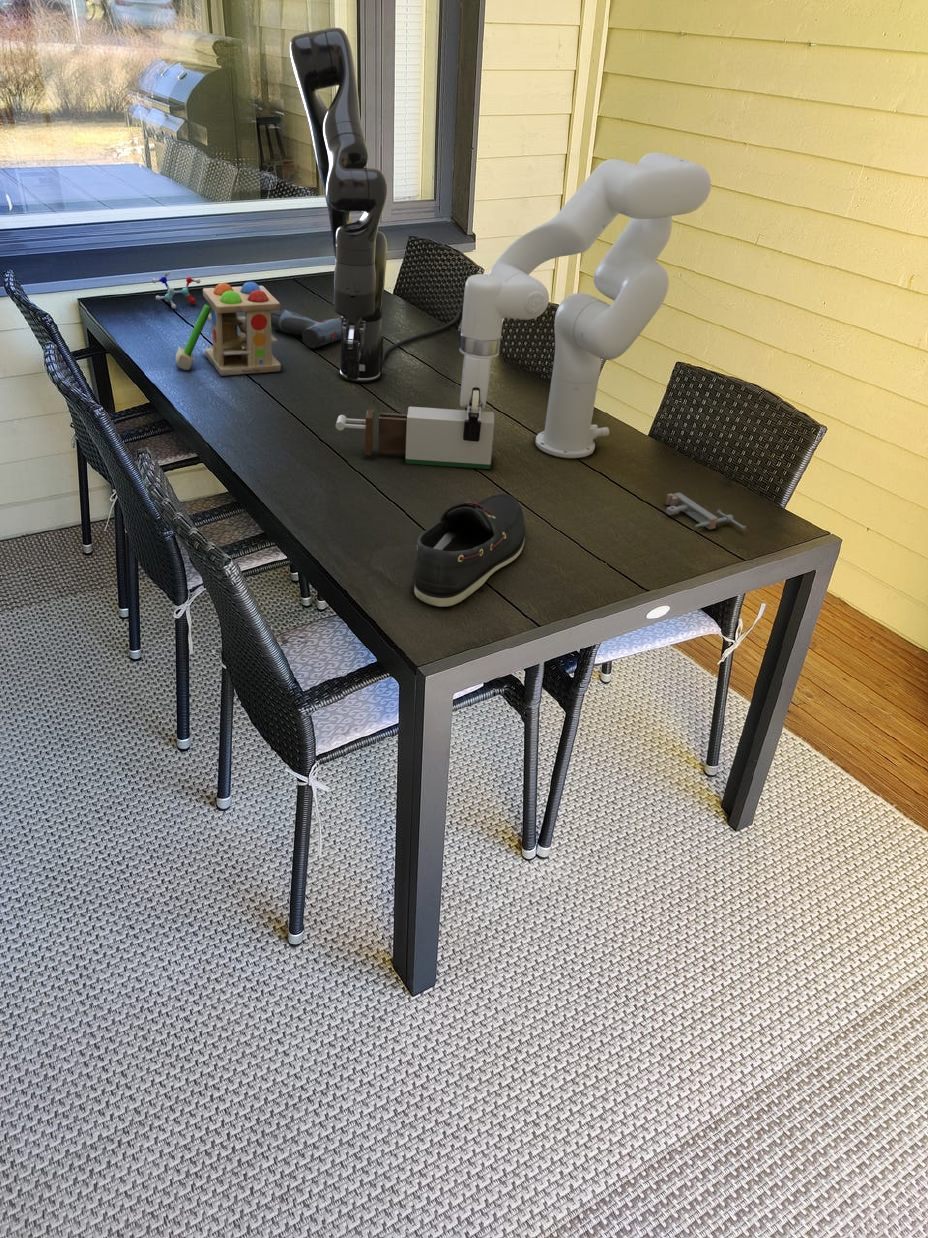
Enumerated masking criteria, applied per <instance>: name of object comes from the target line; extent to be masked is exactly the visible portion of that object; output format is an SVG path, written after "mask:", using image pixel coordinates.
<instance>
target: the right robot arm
mask: <svg viewBox="0 0 928 1238" xmlns="http://www.w3.org/2000/svg"><path fill="white" fill-rule="evenodd" d="M711 186H712V182H711V176H710V173H709V172H708V170H707V169H706V168H705V167H704V166H703V165H701V164H699V163H697V162H694V161H691V160H688V159H684V158H681V157H678V156H675V155H672V154H668V153H664V152H657V151H655V152H654V151H653V152H648V153H646V154H645V155H643V156H642V157H641V158H640V159H639V161H638V162H637V164H635V163H633V162H629V161H626V160H623V159H618V158H610V159H606V160H604V161H602V162H601V163H599V164H598V165H597V167H596V168H594V169H593V171H591V173H590V174H589V176H588V177H587V178H586V179H585V180H584V182H583V183H582V184H581V185H580V186H579V187H578V188H577V190H576V191H575V192H574V194H572V196H571V197H570V198H569V199H568V201H567V202H566V203H565V204H564V205H563V207H562V208H561V209H560V210H559V211H558V212H557V214H555V216H554V217H552V218H551V219H550V220H548V221H545V222H544V223H541V224H540V225H538V226H536V227H535V228H533V229H531V230H530V231H528V232H526V233H524V234H522V235H521V236H520V237H518V238H517V239H515V240H514V241H513V242H512V243H511V244H509V246H508V247H507V248H506V249H505V251H504V252H502V253H501V255H500V256H499V257H498V258H497V260H496V261H495V262H494V264H493V265H492V266H491V268H490V269H489V271H488V273H487V274H486V273H477V274H472V275H470V276H469V277H467V279H466V280H465V285H464V294H463V302H462V303H463V305H462V314H461V327H460V338H459V339H460V340H459V352H460V353H461V354H462V355H463V362H462V371H461V372H462V374H461V382H460V392H459V393H460V394H459V406H460V407H461V408H464V410H467V415H466V420H465V422H464V433H463V440H465V441H476V442H478V441H479V439H480V429H481V422H480V418H481V411H482V409H485V408H486V404H487V399H488V393H489V387H490V382H491V381H490V380H491V373H492V372H491V371H492V365H493V364H492V363H493V359H495V358H497V357H498V356H499V355H500V350H501V349H500V348H501V340H502V338H501V337H502V330H503V320H504V319H512V320H513V319H514V320H519V321H521V320H522V321H527V320H529V321H530V320H533V319H536V318H538V317H540V316H541V315H542V314H544V313H545V312H546V310H547V308H548V305H549V302H550V295H549V291H548V289H547V287H546V286H545V285H544V284H543V283H542V281H540V280H538V279H537V278H535V277H533V276H531V275H530V274H531V273H532V272H533V271H534V270H535V269H536V268H538V267H539V266H541V265H542V264H544V263H545V262H548V261H550V260H553V259H556V258H560V257H566V256H567V257H568V256H573V255H577V254H581V253H585V252H586V251H588V250H589V249H590V248H591V247H592V245H593V244H595V242H596V241H597V240H598V239H599V237H600V236H601V235H602V234H603V233H604V231H605V230H606V229H607V228H608V226H609V225H610V224H611V223H612V222H613V221H614V220H615V219H616V217H617V216H618V215H619V214H620V215H623V216H625V217H628V218H630V219H629V221H628V223H627V224H626V226H625V227H624V229H623V231H622V232H621V233H620V235H619V236H618V237H617V239H616V240H615V241H614V243H613V244H612V246H611V247H610V248H609V249H608V251H607V252H606V254H604V256H603V258H601V260H600V262H599V263H598V264H597V266H596V268H595V271H594V273H593V284H594V287H595V288H596V290H597V291H598V292H599V293H600V294H602V295H604V296H605V297H607V298H608V299H610V300H612V301H613V302H612V304H609V303H607V302H606V301H604V300H602V299H600V298H597V297H596V296H593V295H591V294H589V293H584V292H575V293H572V294H570V295H567V296H565V298H563V300H562V301H561V302H560V303H559V305H558V307H557V309H556V311H555V315H554V357H553V365H552V372H551V373H552V374H551V380H550V387H549V395H548V400H547V401H548V402H547V409H546V416H545V423H544V430H542V431H541V432H539V433H537V434H536V437H535V441H534V442H535V445H536V447H537V448H538V449H539V450H541V451H542V452H544V453H546V454H548V455H551V456H554V457H558V458H563V459H564V458H565V459H580V458H586V457H588V456H590V455H592V454H593V453H594V451H595V448H596V443H595V441H594V440H596V439H597V438H604V437H608V436H610V428H609V427H607V426H605V427H599V426H598V424H592V422H593V421H592V420H593V415H594V409H595V404H596V397H597V392H598V391H597V390H598V386H599V380H600V374H601V365H602V364H601V363H602V362H601V360H603V361H612V360H615V359H617V358H620V357H621V356H622V355H623V354H624V353H626V352H627V351H628V349H630V348H631V346H632V345H633V344H634V342H635V341H636V340H637V339H638V338H639V336H640V334H642V332H643V330H644V329H645V328H646V327H647V326H648V324H649V323H650V322H651V320H652V319H653V318H654V317H655V315H656V314H657V312H658V311H659V310H660V308H661V306H662V305H663V303H664V301H665V300H666V298H667V294H668V290H669V285H670V280H669V275H668V272H667V270H666V268H665V266H663V265H662V264H661V263H659V262H657V259H658V258H659V256H661V254H662V252H663V251H664V249H665V248H666V246H667V245H668V243H669V241H670V237H671V233H672V225H673V217H676V216H681V215H687V214H691V213H693V212H695V211H697V210H698V209H699V208H700V207H702V206H703V205H704V204H705V202H706V201H707V199H708V198H709V195H710V193H711V189H712V188H711ZM470 411H471V412H470ZM469 412H470V413H469Z"/></svg>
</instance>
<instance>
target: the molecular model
mask: <svg viewBox="0 0 928 1238" xmlns="http://www.w3.org/2000/svg"><path fill="white" fill-rule="evenodd" d="M163 273H164V275H163V276H161V277H160V278H158V279H156V278H151V282H152V283H153V284H156V283H162V284H164V286H165V287H166V289H167V292H166V294H165V295H163V296H160V295H156V296H155V300H156V301H160V300H165V302H167V303H170V305H171V309H173V310H176V308H177V305H176V304H175V303H174V302H173V300H172V299H173V297H174V296H175V295H176V294H182V295H183V296H185V297H186V298H187V299H188V301H189V303H190V304H191V305H194V304H196V298H194V297H192V295H191V294H190V293H189V289H188V288H189V285H190V284H191V283H196V284H200V283H201V279H200V278H196V279H193V278H192V277H190V276H188V277H186V279H185V281H186V284H185V286H184V287H183V288H181V290H175V289H174V287H170V286H169V284H168V278H167V277H168V276H169V275H170V271H168V270H165V271H163Z"/></svg>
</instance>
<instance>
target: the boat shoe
mask: <svg viewBox="0 0 928 1238" xmlns="http://www.w3.org/2000/svg"><path fill="white" fill-rule="evenodd" d="M523 511H524V510H523V507H521V505H520V503H519V501H518V500H517V499H516V497H514V496H513V495H511V494H508V493H496V494H493V495H490V496H487V497H485V498H483V499H481V500H480V501H478V502H472V501H467V502H465V501H462V502H459V503H456V504H454V505H452V506H450V507H448V508H447V509H446V510H445V511H444V512H443V513H442V514H441V516H440V518H439V519H438V521H437V522H436V523H434V524H433V525H431V526H430V527H428V528H427V529H426V530H424V531H422V533H421V534H420V535H419V536H418V538H417V539H416V541H415V545H414V548H415V549H416V559H415V563H414V570H413V572H412V579H413V580H415V581H414V589H413V591H414V595H415V596H416V598H417V599H418V600H420V601H421V602H424V603H425V604H427V605H430V606H435V607H439V608H443V607H451V606H454V605H457V604H459V603H461V602H462V601H463V600H465V599H467V598H468V597H469V596H471V595H472V594H473V593H474V592H476V591H477V590H478V589H479V588H480V587H482V586H483V585H484V584H485V583H486V581H487V580H488V579H489V578H490V576H492V575H493V574H494V573H495V572H496V571H498V570H499V569H501V568H503V567H505V566H507V565H508V564H510V563H512V562H513V561H515V560H516V559H517V558H518V557H519V556H520V555H521V553H522V551H523V549H524V546H525V541H526V523H525V516H524V512H523Z"/></svg>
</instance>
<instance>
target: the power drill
mask: <svg viewBox="0 0 928 1238" xmlns="http://www.w3.org/2000/svg"><path fill="white" fill-rule="evenodd" d="M271 328H274V329H276V330H278V331H281V332H284V333H288V334H290V335H296V336H300V337H302V341H303V343H304V344H305V346H306V347H308V348H309V349H316V348H319V347H322V346H325V345H328V344H330V343H333V342H336V341H338V340H341V317H338V318H331V319H324V320H322V321H320V322H319V321H316V320H314V319H312V318H309V317H306V316H304V315H302V314H300V313H297V312H293V311H291V310H288V309H283V308H280V310H271Z"/></svg>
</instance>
